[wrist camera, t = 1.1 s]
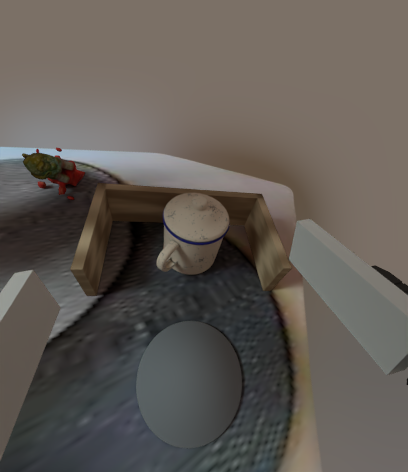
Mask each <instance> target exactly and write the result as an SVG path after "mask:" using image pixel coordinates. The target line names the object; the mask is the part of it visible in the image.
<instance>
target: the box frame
mask: <svg viewBox="0 0 408 472" xmlns="http://www.w3.org/2000/svg"><path fill="white" fill-rule="evenodd" d="M184 193H201V194H205V195H208V196H210V197H212V198H214V199H216V200H217V201H219V202H220V203H221V204H222V205H223V206H224V208H225V209H226V211H227V213H228V216H229V225H244V226H245V230H246V233H247V237H248V240H249V244H250V247H251V250H252V254H253V257H254V261H255V264H256V268H257V271H258V275H259V278H260V282H261V285H262V289H263V291H271V290H272V289H273V287H274V286H275V285H276V284H277V283H278V282H279V281H280V280H281V279H282V278H283V277H284V276H285V275H286V274H287V273H288V272H289V271H290V270H291V269H292V267H291V265H290V262H289V260H288V258H287V255H286V253H285V250H284V248H283V245H282V243H281V240H280V238H279V235H278V233H277V230H276V228H275V225H274V223H273V220H272V218H271V215H270V213H269V210H268V208H267V205H266V203H265V200H264V198H263V195H262V194H255V193H240V192H225V191H210V190H195V189H180V188H165V187H150V186H135V185H120V184H105V183H98V184H97V188H96V191H95V194H94V197H93V200H92V203H91V206H90V209H89V213H88V216H87V219H86V222H85V225H84V228H83V231H82V235H81V238H80V241H79V244H78V247H77V250H76V253H75V256H74V260H73V263H72V266H71V269H70V270H71V271H72V273H73V275H74V276H75V278H76V279H77V281H78V283H79V284H80V286H81V287H82V289H83V291H84V292H85V294H86V295H87V296H97V291H98V287H99V282H100V278H101V273H102V268H103V264H104V259H105V254H106V250H107V245H108V240H109V236H110V231H111V227H112V222H113V221H130V222H159V223H163V211H164V208H165V207H166V205H167V203H168V202H169V201H170V200H171V199H173V198H174V197H176V196H178V195H181V194H184Z"/></svg>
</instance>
